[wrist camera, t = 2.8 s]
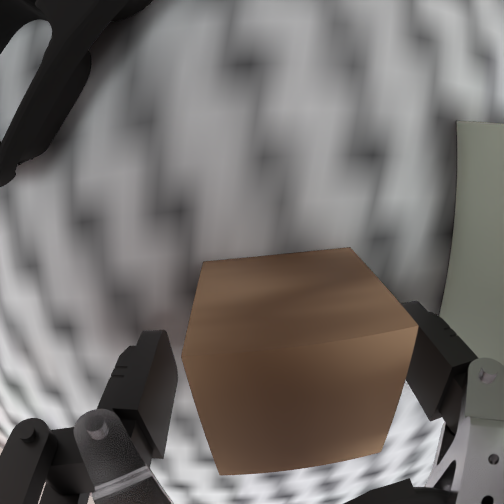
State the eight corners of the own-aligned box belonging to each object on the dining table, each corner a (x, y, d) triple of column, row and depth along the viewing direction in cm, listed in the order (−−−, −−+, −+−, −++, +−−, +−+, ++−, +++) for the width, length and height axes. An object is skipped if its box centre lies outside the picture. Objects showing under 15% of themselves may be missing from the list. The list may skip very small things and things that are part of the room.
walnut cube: (349, 246, 11) (418, 325, 6) (342, 358, 12) (380, 451, 8) (203, 260, 11) (181, 356, 6) (223, 372, 12) (219, 475, 8)
